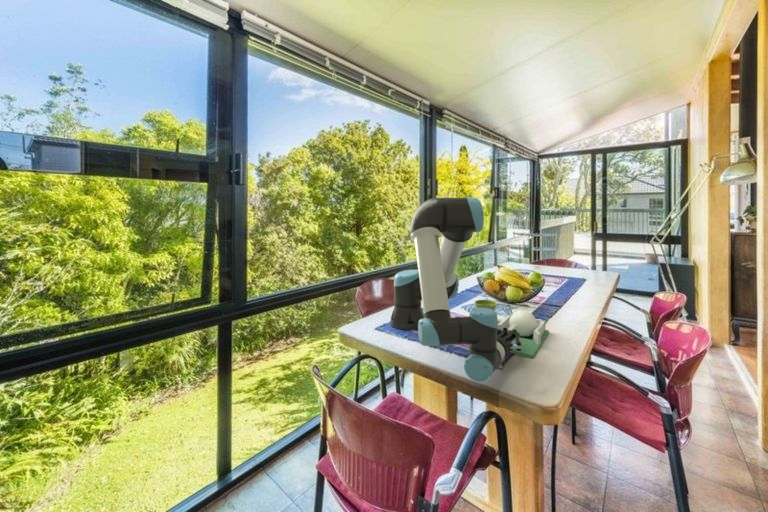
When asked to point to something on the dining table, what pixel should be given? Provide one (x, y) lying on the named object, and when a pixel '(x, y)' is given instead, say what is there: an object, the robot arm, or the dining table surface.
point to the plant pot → (486, 304)
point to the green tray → (528, 345)
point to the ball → (523, 322)
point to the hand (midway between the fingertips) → (514, 328)
